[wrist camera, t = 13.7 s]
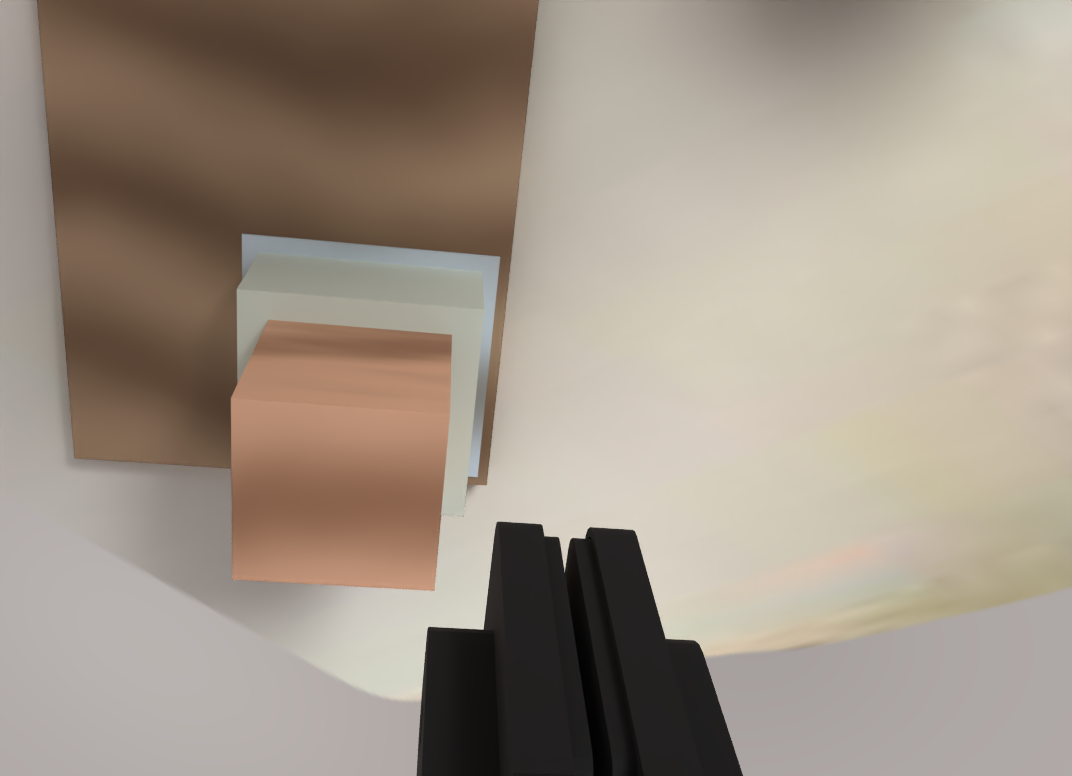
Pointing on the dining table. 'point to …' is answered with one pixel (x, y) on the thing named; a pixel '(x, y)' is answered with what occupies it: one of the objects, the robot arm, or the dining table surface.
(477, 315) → the base block
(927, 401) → the dining table surface
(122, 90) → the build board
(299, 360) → the top block
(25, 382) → the dining table surface
